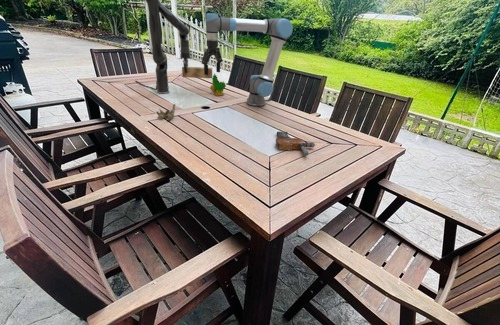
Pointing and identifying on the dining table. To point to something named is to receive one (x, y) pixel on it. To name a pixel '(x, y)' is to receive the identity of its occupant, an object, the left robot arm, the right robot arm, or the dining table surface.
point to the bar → (196, 72)
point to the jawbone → (166, 113)
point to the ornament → (217, 86)
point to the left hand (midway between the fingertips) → (186, 72)
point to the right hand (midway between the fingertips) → (212, 73)
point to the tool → (291, 143)
